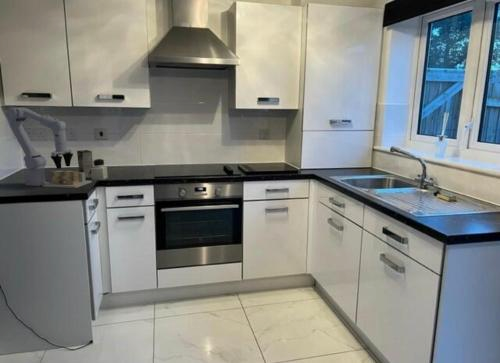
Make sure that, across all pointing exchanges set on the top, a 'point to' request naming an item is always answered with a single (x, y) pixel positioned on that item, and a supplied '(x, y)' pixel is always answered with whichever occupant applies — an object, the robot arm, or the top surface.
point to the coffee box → (85, 162)
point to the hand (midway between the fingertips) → (63, 167)
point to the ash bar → (64, 175)
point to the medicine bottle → (99, 170)
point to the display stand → (69, 182)
